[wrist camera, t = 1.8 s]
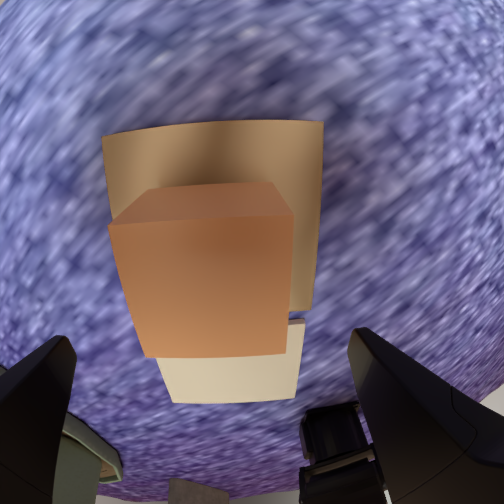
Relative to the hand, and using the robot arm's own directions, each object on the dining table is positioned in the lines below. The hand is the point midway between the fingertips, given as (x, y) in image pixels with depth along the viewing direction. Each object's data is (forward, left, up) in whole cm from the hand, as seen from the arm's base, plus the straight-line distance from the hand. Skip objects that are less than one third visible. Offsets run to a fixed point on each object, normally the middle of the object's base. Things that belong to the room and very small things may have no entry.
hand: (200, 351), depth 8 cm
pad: (0, +13, -10) cm, 17 cm away
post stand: (0, 0, -10) cm, 11 cm away
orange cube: (0, 0, -7) cm, 7 cm away
